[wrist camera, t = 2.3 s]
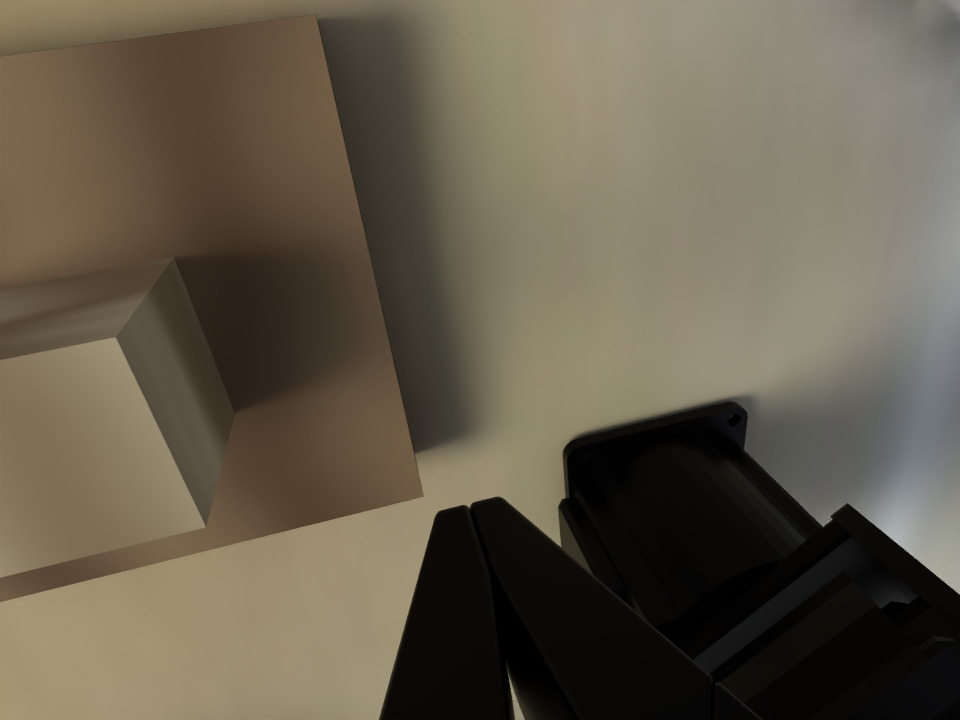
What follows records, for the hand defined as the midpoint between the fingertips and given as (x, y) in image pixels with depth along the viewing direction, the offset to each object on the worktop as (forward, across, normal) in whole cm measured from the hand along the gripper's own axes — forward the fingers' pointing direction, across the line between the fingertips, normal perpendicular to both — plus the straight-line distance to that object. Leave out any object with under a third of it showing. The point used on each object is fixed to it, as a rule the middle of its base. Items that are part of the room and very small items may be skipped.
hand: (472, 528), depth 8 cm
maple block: (+8, +7, 0) cm, 10 cm away
